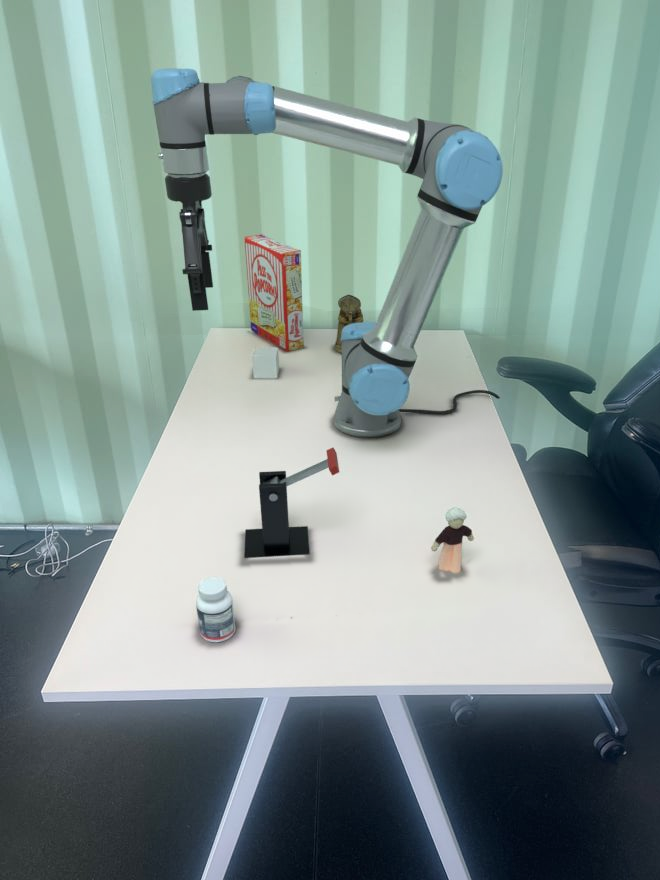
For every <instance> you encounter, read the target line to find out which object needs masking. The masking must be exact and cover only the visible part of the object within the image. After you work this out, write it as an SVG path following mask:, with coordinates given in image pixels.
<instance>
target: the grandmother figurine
mask: <svg viewBox="0 0 660 880" xmlns="http://www.w3.org/2000/svg"><path fill="white" fill-rule="evenodd" d="M466 519H467V513H466V511H465V510H464V509H461V508H460V507H457V506H453V507H451V508H448V509H447V511H446V512H445V521H446V522H447V524H448V525H447V526H445V527H444V528H443V529H442V531H441V532H440V533H439V534H438V536H436V538H435V540H434V541H433V544H432V546H431V547H430V549H431V551H432V552H436V551H437V550H438V548H439V547H440V546H441V544H443V545H442V548H441V552H440V555H439V562H438V569H439V571H445V572H450V573H453V574H459V573H461V571H462V549H463V548H462V547H463V539H464V537H467V540H468V541H469V542H473V541H474V539H475V537H474V535H473V530H472V528H470V527H469V526H467V525H465V524H464V521H465V520H466Z"/></svg>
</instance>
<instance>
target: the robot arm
mask: <svg viewBox="0 0 660 880" xmlns="http://www.w3.org/2000/svg"><path fill="white" fill-rule="evenodd" d="M150 82H151V92H152V105H153V111H154V118H155V124H156V129H157V135H158V142H159V147H160V152H158V154H157V158H158V159H159V160H162V168H163V172H164V173H165V174H167V175H165V177H164V183H165V190H166V191H165V192H166V196H167V199H168V200H170V201H172V202H176V203H177V202H179V203H181V205H182V208H180V211H179V214H178V215H179V221H180V223H181V234H182V245H183V257H184V268H182V269H181V270H182V271H181V272H182V275H187V283H188V289H189V296H190V302H191V309H192V311H193V312H194V311H195V312H196V311H209V304H208V303H209V302H208V296H207V289H208V288H214V283H213V274H212V267H211V258H210V252H212V251H213V244H209V243H210V240H209V237H208V233H207V226H206V219H205V217H206V215H205V208H203V201H207V200H209V199H211V197H213V196H212V195H213V193H212V186H211V184H212V183H211V177H210V175H209V174H208V172H209V170H210V165H209V156H208V147H207V143H206V135H211V136H213V135H253V136H258V135H261V134H262V135H263V134H275V135H279V136H283V137H286V138H291V139H294V140H298V141H303V142H306V143H310V144H314V145H318V146H322V147H325V148H329V149H333V150H337V151H340V152H345V153H349V154H353V155H357V156H361V157H365V158H368V159H372V160H376V161H380V162H384V163H386V164H387V163H388V164H391V165H395V166H398V168H399V169H400V171H401V173H403V174H408V175H411V176H414V177H417V178H419V179H421V180H422V181H421V185H420V187H419V190H418V192H417V195H416V199H417V202H418V205H419V208H420V209H419V210H420V211H419V213H418V216H417V218H416V220H415V223H414V226H413V228H412V231H411V233H410V236H409V239H408V240H407V244H406V246H405V249H404V251H403V254H402V256H401V259H400V261H399V264H398V267H397V269H396V271H395V274H394V276H393V279H392V282H391V285H390V287H389V290H388V292H387V294H386V297H385V300H384V302H383V305H382V307H381V310H380V312H379V315H378V318H377V319H376V322H375V321H373V322H372V321H363V322H361V323H353V324H349V325H347V326H345V327H344V328H343V329H342V336H341V341H342V353H341V393H340V395H337V396H334V402H335V403H336V402H337V405H336V408H335V410H334V415H333V419H334V420H333V422H334V426H335V428H336V430H338V431H340V432H341V433H344V434H346V435H349V436H352V437H357V438H365V439H366V438H368V439H369V438H381V437H385V436H389V435H391V434H393V433H395V432H396V431H397V430H399V428H400V427H401V424H402V415H401V413H413V414H415V413H417V414H430V415H431V414H432V415H448V414H451V413H453V412H455V411H456V410H457V408H458V403H457V399H458V398H460V397H464V396H468V395H472V394H485V395H486V394H487V395H490V396H492V397H494V398H495V399H497V400H498V399H501V397H500V396H499V395H498V394H497V393H495V392H493V391H490V390H485V389H474V390H473V389H472V390H468V391H463V392H460V393H457V394H456V395H454V397H453V398H452V403H453V407H451V408H450V409H447V410H431V409H430V410H429V409H417V408H416V409H415V408H414V409H413V408H402V407H403V406H404V404H405V403H406V401H407V400H408V398H409V396H410V395H409V394H410V386H411V384H410V383H411V382H410V381H409V378H410V376H411V374H412V371H413V369H414V367H415V364H416V362H417V359H418V354H417V351H416V349H415V345H416V343H417V340H418V338H419V335H420V333H421V331H422V328H423V326H424V323H425V321H426V319H427V317H428V315H429V312H430V310H431V307H432V305H433V302H434V301H435V300H434V299H435V297H436V295H437V294H438V291H439V289H440V286H441V284H442V281H443V278H444V276H445V274H446V272H447V270H448V266H449V265H450V262H451V259H452V257H453V255H454V252H455V251H456V248H457V245H458V244H459V241H460V239H461V236H462V235H463V232H464V230H465V229H466V228H468V227H470V226H472V225H475V224H476V222H477V220H478V218H479V215H480V213H481V210H482V208H483V206H485V205H486V204H488V203H489V202H490V201H491V200H492V199H493V198H494V197H495V196H496V194H497V192H498V190H499V189H500V186H501V183H502V179H503V172H504V171H503V168H504V167H503V160H502V157H501V153H500V152H499V150H498V148H497V147H496V145H495V144H494V143H493V142H492V141H491V140H490V139H489V137H487V136H486V135H484V134H483V133H481V132H480V131H479V132H478V131H475V130H473V129H472V128H470V127H468V126H465V125H462V124H456V123H448V122H447V123H446V122H439V121H431V120H427V119H422V118H418V117H413V118H411V119H409V120H408V121H406V120H402V119H399V118H396V117H391V116H388V115H383V114H380V113H376V112H373V111H369V110H366V109H361V108H358V107H353V106H350V105H346V104H343V103H340V102H339V103H338V102H334V101H332V100H328V99H324V98H320V97H317V96H312V95H308V94H305V93H302V92H298V91H294V90H290V89H287V88H283V87H279V86H276V85H274V86H273V85H272V84H271V83H268V82H260V81H255V80H253V79H252V78H251V77H248V76H244V75H238V76H237V75H236V76H232V77H230V78H229V79H227V80H226V81H225V82H212V83H211V82H210V83H209V82H201V80H200V77H199V74H198V72H197V70H196V69H193V68H158V69H155V70H154V71H153V72H152V74H151V75H150Z"/></svg>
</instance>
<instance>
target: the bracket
mask: <svg viewBox="0 0 660 880" xmlns="http://www.w3.org/2000/svg"><path fill="white" fill-rule="evenodd" d="M276 476H277V477H278V478H279V480H282V479H285V478H287V471H286V470H275V471H273V470H272V471H259V473H258V477H259V485H258V491H259V503H260V517H261V528H249V529H248V528H247V529H245V532H244V553H243V559H253V558H254V559H255V558H257V559H258V558H272V557H273V558H274V557H288V556H289V557H290V556H308V555H311V553H310V541H309V528H308V525H307V526H305V525H304V526H302V525H301V526H290V523H289V521H290V520H289V505H288V501H289V500H288V486H287V487H286V483H276V484H263V482H265V481H268V480H270V479H272V478H274V477H276Z"/></svg>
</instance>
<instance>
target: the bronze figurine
mask: <svg viewBox="0 0 660 880" xmlns="http://www.w3.org/2000/svg"><path fill="white" fill-rule="evenodd" d="M337 304H338V308H339V313H338V317H337V321H338V325H337V333H336V341H335V342H334V350H335V351H336V352H338V353H340V354H342V341H341V336H342V329H343V328H344V327H345V326H347V325H349V324H353V323H361V322H365V319H364V315H363V313H362V309H361V307H362V302H361V300H360V299H359V298H358V297H356V296H355V295H351V294H346V295H344V296H342V297H341V298H339V299H338V301H337Z"/></svg>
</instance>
